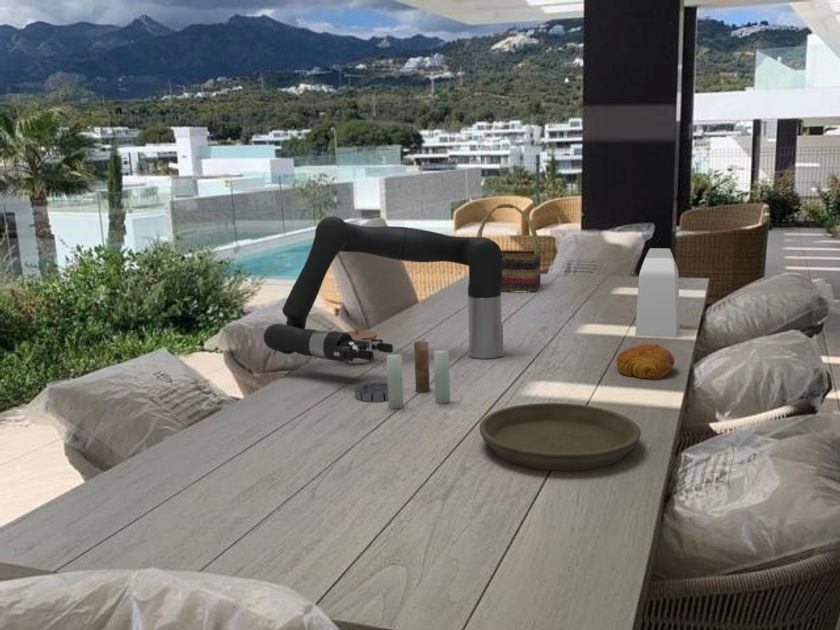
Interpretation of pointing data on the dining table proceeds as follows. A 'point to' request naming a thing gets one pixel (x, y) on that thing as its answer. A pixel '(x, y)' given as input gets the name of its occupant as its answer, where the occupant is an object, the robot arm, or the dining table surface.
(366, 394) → the ring
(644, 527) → the dining table surface
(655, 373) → the croissant
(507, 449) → the plant saucer
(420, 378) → the walnut dowel
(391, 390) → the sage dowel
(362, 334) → the lidded jar
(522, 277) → the basket
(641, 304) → the milk
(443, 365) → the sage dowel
